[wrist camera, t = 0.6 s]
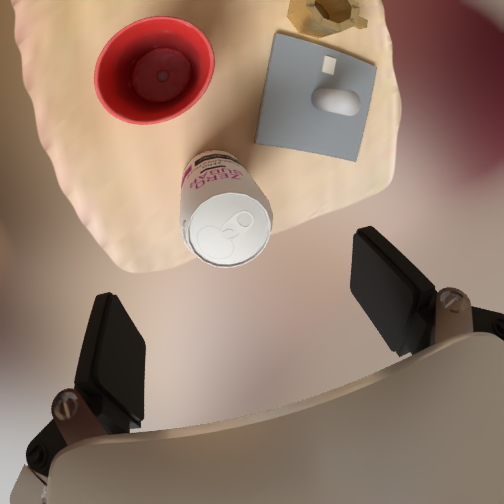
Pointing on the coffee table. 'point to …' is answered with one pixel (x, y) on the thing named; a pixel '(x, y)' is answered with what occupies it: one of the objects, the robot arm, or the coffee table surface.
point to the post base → (296, 105)
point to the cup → (313, 24)
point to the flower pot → (153, 70)
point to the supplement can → (223, 211)
